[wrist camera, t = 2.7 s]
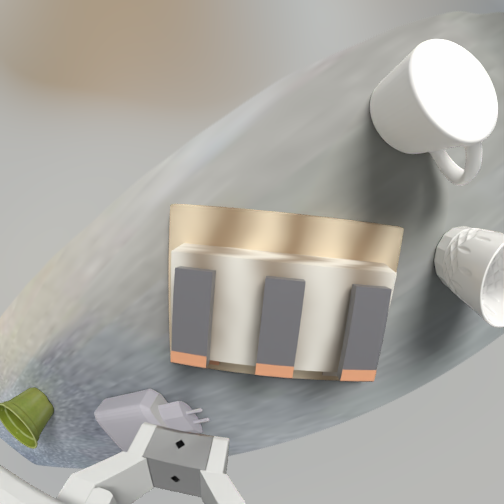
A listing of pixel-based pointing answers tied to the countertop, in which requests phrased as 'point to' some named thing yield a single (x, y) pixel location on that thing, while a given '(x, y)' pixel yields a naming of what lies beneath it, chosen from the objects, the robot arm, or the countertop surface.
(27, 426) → the plant pot
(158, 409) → the charger
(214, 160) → the countertop surface
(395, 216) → the countertop surface
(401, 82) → the mug
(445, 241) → the white cup
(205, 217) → the switch panel
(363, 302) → the rocker
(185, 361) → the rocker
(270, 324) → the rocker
